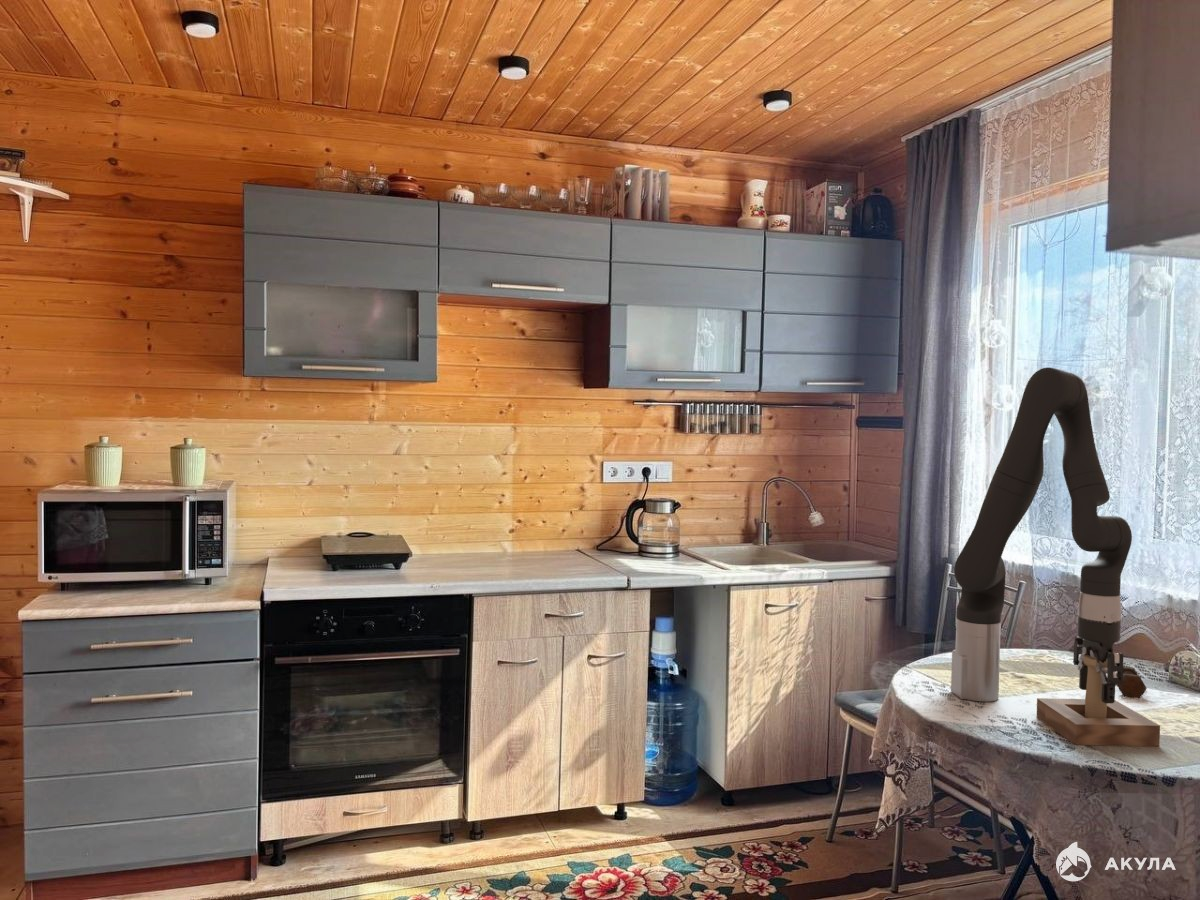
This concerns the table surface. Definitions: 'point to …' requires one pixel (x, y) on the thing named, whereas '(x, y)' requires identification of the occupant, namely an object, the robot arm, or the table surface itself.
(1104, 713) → the handle
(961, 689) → the robot arm
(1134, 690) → the dark brown hexagonal dumbbell
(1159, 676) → the table surface
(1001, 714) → the table surface
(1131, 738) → the socket block
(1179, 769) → the table surface
